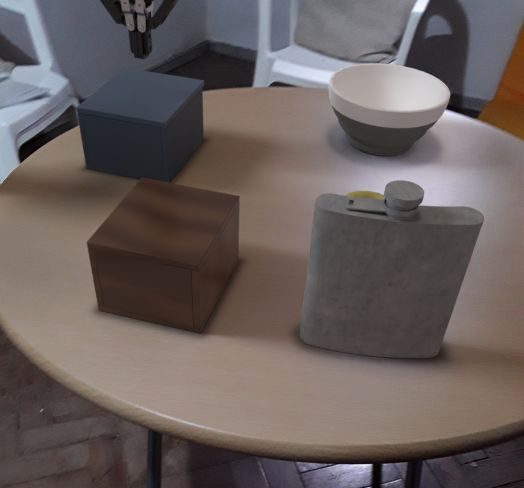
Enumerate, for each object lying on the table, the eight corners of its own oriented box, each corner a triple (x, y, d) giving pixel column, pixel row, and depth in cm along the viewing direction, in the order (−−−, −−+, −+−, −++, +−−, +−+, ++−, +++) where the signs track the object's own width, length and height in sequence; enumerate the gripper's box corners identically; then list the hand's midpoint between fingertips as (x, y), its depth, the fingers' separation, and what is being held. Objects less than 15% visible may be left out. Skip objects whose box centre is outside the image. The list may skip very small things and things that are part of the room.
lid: (125, 72, 102) (124, 67, 101) (204, 85, 100) (204, 80, 99) (76, 112, 90) (76, 107, 90) (165, 128, 88) (165, 122, 88)
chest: (128, 126, 108) (122, 74, 101) (203, 140, 105) (202, 87, 99) (86, 169, 97) (77, 113, 90) (169, 184, 94) (165, 128, 88)
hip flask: (437, 340, 72) (489, 184, 58) (440, 365, 70) (496, 207, 56) (300, 325, 73) (319, 168, 59) (297, 349, 70) (317, 190, 56)
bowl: (423, 180, 99) (438, 121, 92) (306, 153, 104) (312, 95, 97) (445, 130, 112) (459, 76, 106) (340, 108, 117) (348, 55, 110)
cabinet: (147, 242, 84) (141, 177, 77) (238, 261, 82) (239, 195, 75) (98, 310, 73) (86, 241, 67) (200, 333, 71) (198, 265, 65)
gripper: (67, -87, 78) (88, 59, 90) (167, -75, 75) (175, 72, 88) (95, -97, 83) (111, 42, 95) (189, -86, 81) (194, 54, 93)
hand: (142, 56), depth 91 cm, fingers closed
